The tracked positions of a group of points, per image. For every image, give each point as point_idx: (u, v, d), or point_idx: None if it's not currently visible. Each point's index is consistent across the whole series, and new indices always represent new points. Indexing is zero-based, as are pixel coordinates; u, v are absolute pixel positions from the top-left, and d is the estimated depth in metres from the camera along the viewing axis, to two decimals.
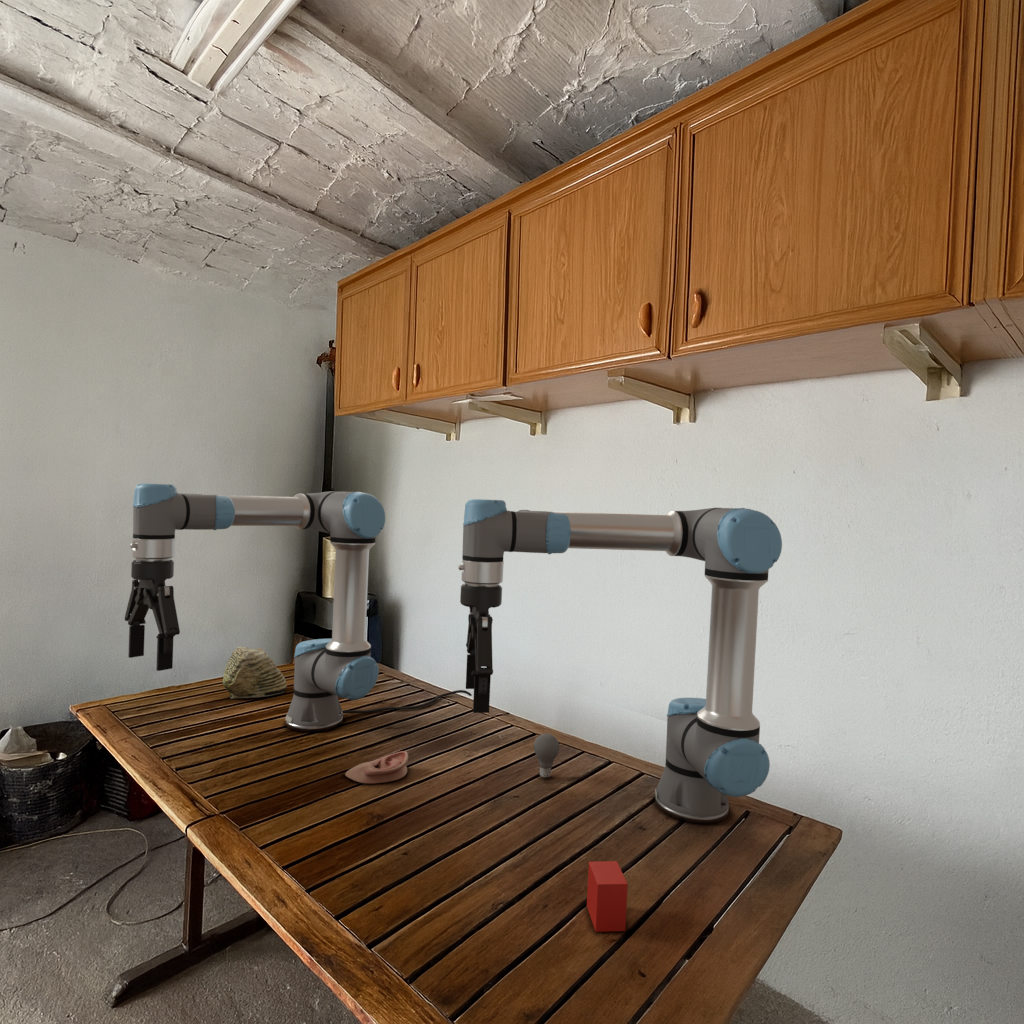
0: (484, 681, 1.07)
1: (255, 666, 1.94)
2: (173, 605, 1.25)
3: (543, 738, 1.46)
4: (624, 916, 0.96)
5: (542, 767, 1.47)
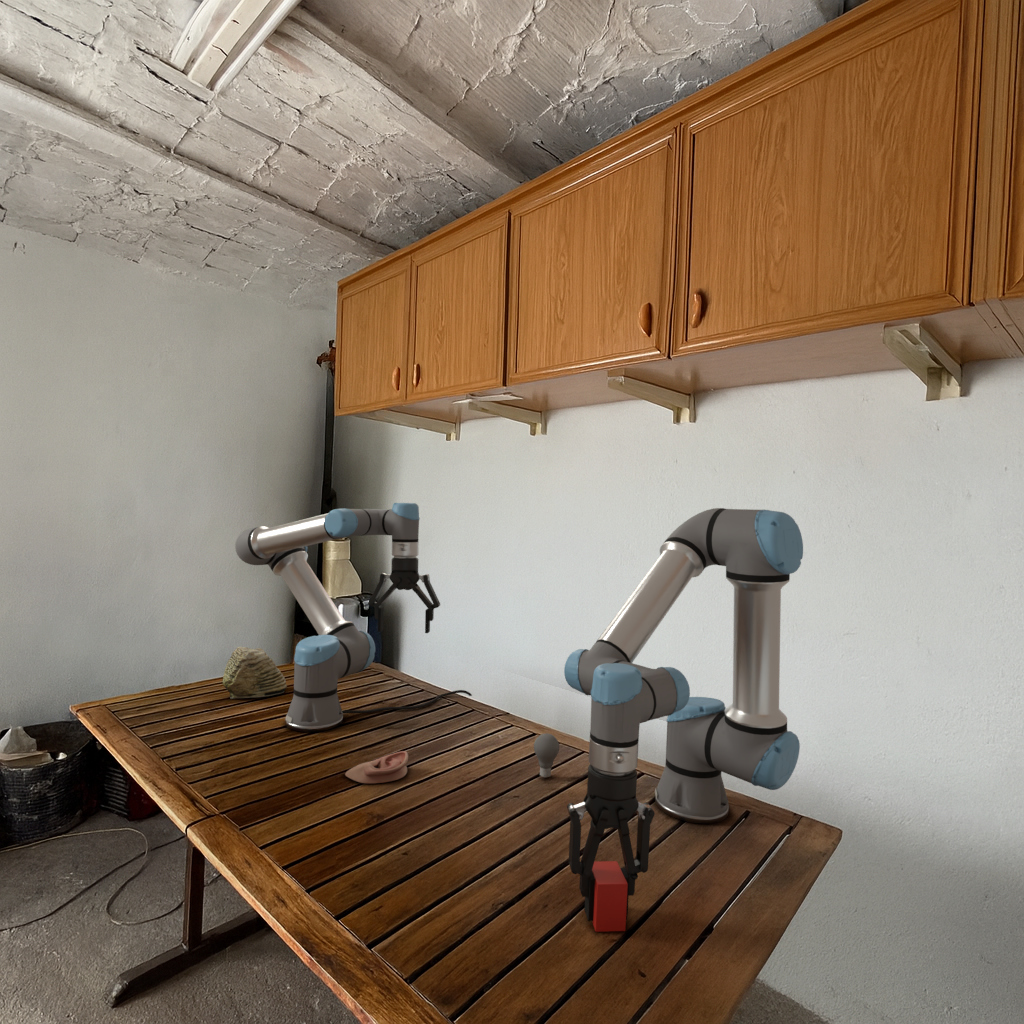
0: None
1: (255, 666, 1.94)
2: (432, 587, 1.80)
3: (543, 738, 1.46)
4: (624, 916, 0.96)
5: (542, 767, 1.47)
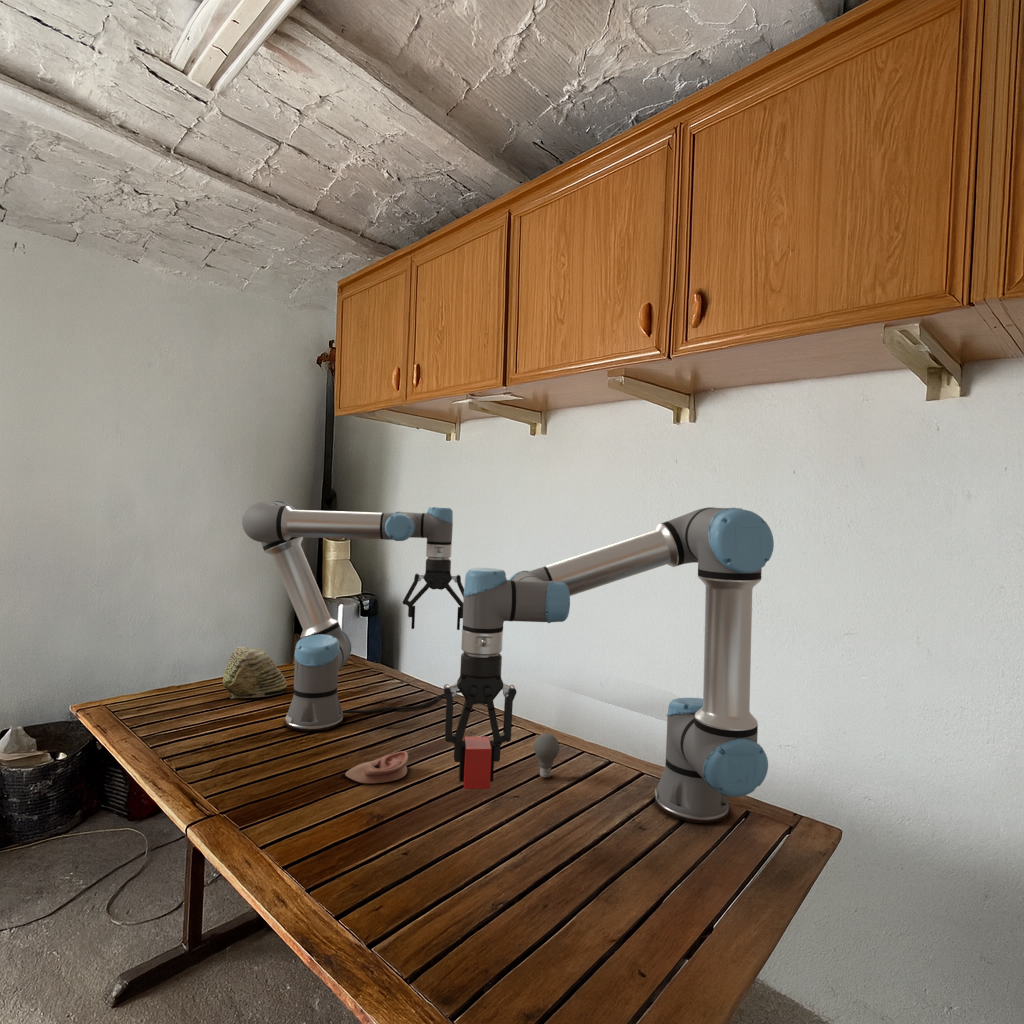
0: None
1: (255, 666, 1.94)
2: None
3: (543, 738, 1.46)
4: (488, 776, 1.14)
5: (542, 767, 1.47)
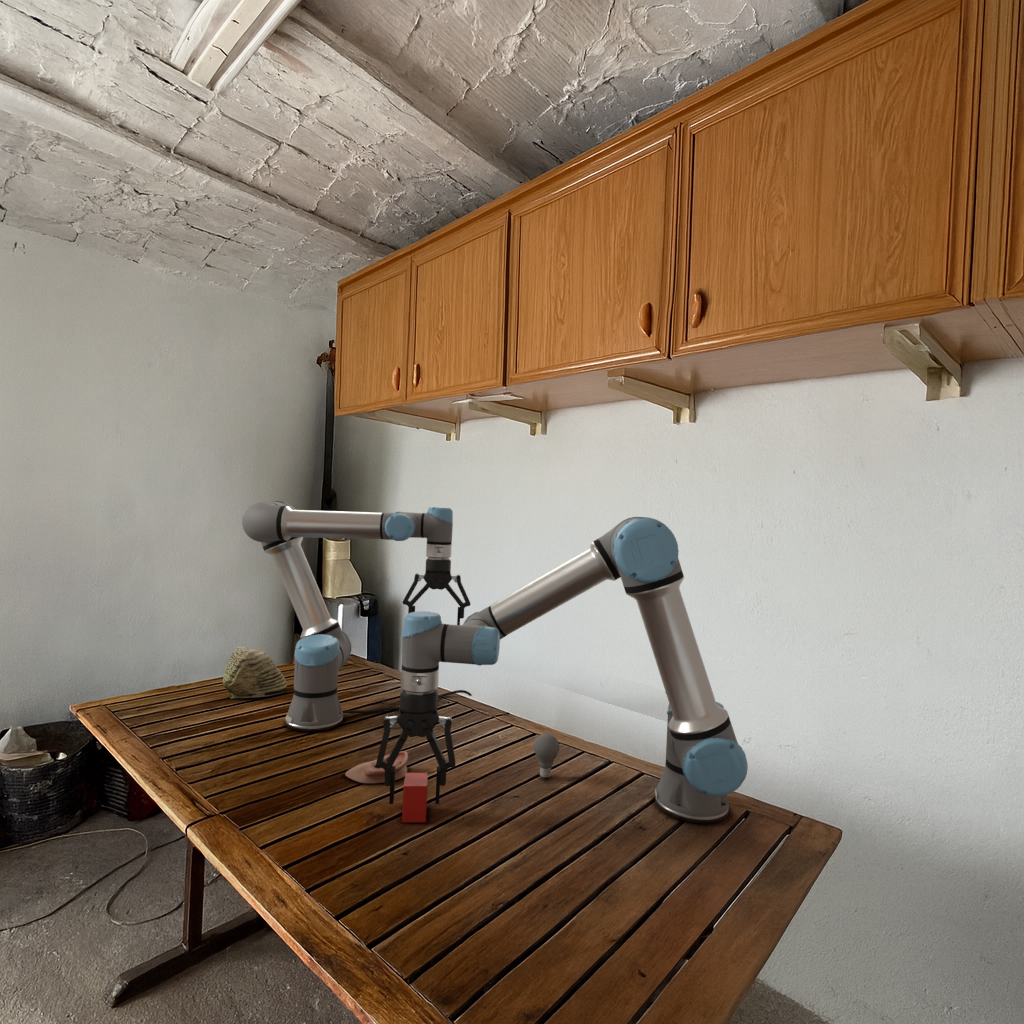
0: None
1: (255, 666, 1.94)
2: None
3: (543, 738, 1.46)
4: (424, 811, 1.25)
5: (542, 767, 1.47)
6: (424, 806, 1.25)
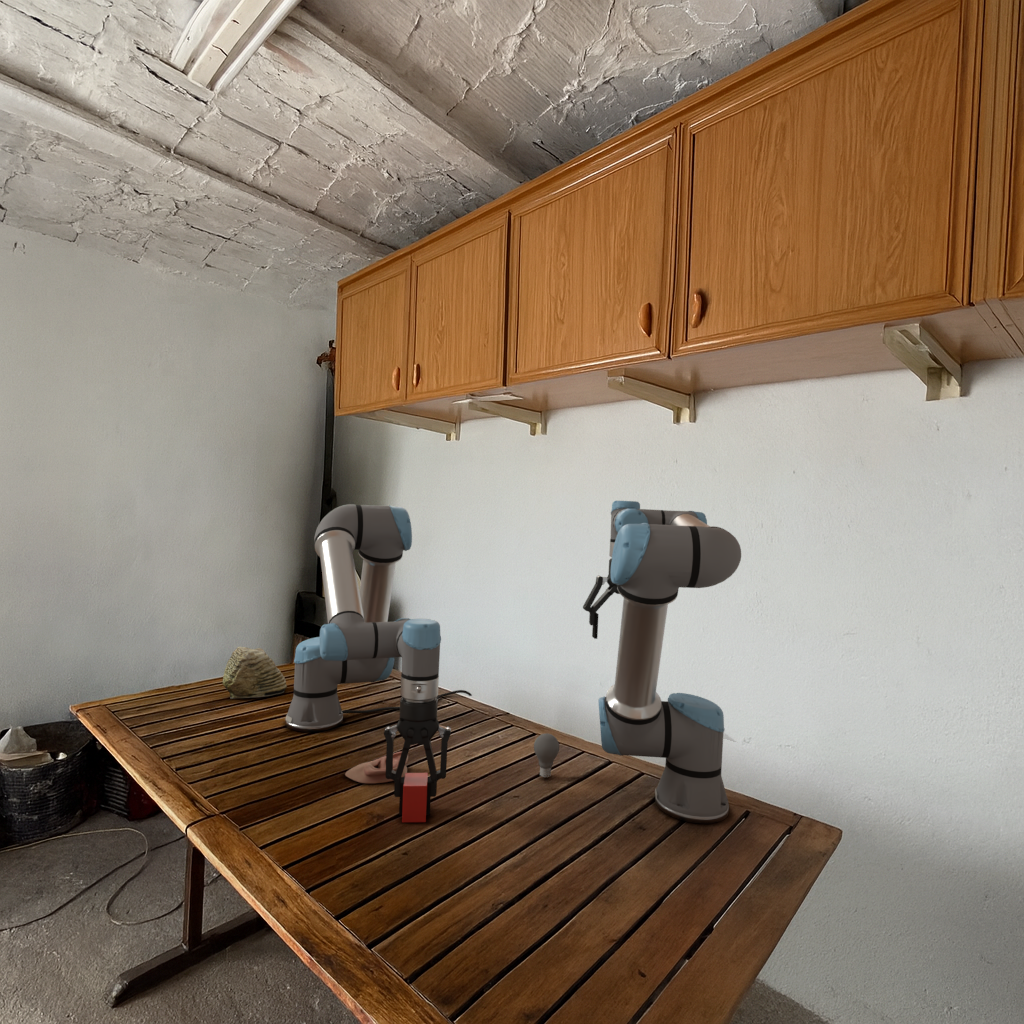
0: None
1: (255, 666, 1.94)
2: None
3: (543, 738, 1.46)
4: (424, 811, 1.25)
5: (542, 767, 1.47)
6: (424, 806, 1.25)
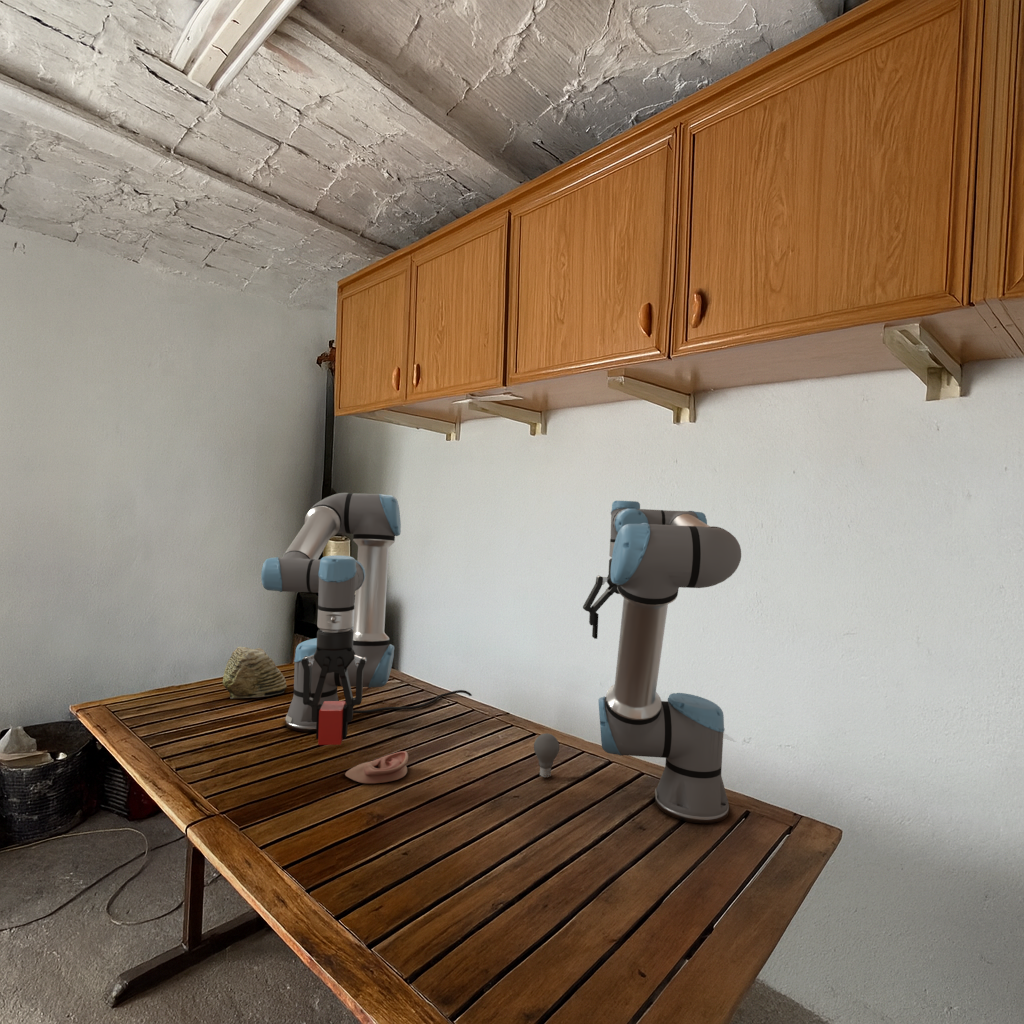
0: None
1: (255, 666, 1.94)
2: None
3: (543, 738, 1.46)
4: (339, 734, 1.33)
5: (542, 767, 1.47)
6: (339, 729, 1.33)
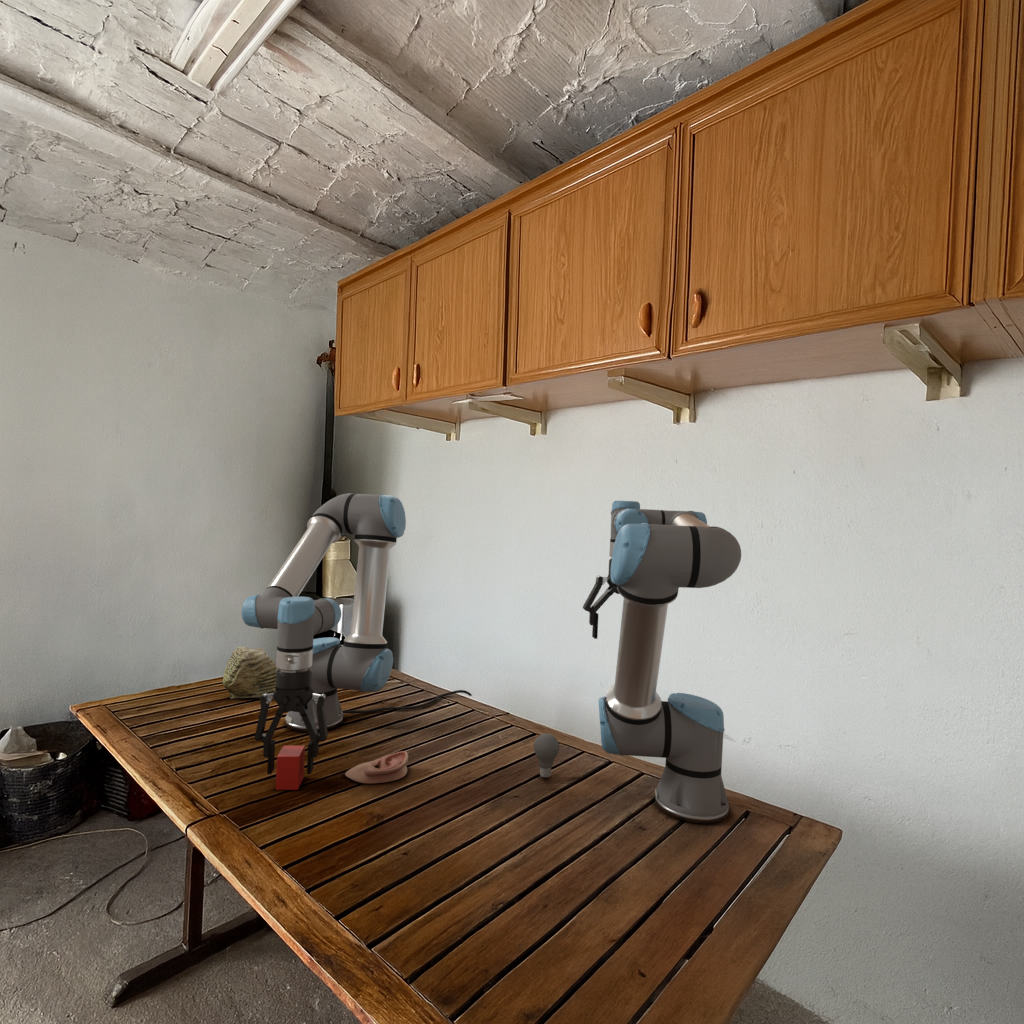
0: None
1: (255, 666, 1.94)
2: (324, 711, 1.41)
3: (543, 738, 1.46)
4: (296, 779, 1.36)
5: (542, 767, 1.47)
6: (296, 775, 1.36)
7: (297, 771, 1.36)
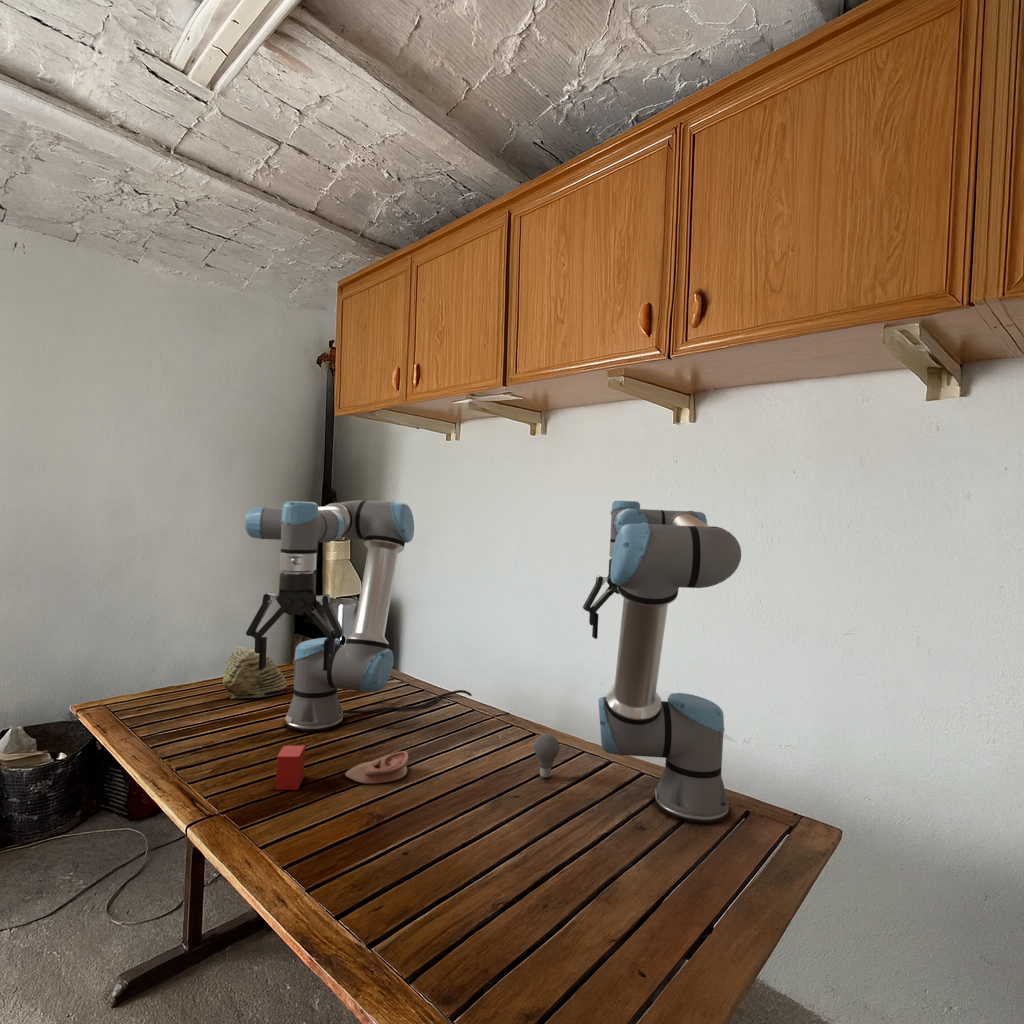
0: None
1: (255, 666, 1.94)
2: (333, 610, 1.40)
3: (543, 738, 1.46)
4: (296, 779, 1.36)
5: (542, 767, 1.47)
6: (296, 775, 1.36)
7: (297, 771, 1.36)
